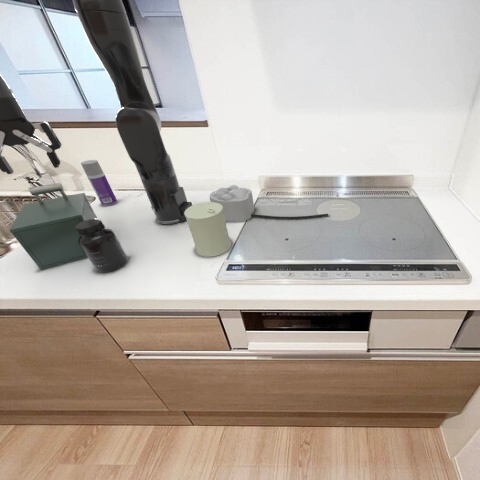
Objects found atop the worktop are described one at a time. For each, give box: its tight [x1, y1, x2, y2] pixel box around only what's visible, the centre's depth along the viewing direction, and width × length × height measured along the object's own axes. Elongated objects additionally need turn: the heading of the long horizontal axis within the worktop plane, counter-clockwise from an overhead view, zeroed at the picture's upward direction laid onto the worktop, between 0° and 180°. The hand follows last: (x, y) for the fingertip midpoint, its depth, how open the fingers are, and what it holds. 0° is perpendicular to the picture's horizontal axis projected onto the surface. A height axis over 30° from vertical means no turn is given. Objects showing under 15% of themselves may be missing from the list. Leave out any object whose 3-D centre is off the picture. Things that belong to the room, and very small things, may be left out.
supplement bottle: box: [75, 218, 128, 273], centre depth 63 cm, size 7×7×12 cm
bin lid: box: [9, 182, 87, 234], centre depth 65 cm, size 16×13×5 cm
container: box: [80, 159, 118, 207], centre depth 90 cm, size 5×5×15 cm
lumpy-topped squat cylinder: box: [208, 184, 256, 223], centre depth 86 cm, size 10×13×9 cm
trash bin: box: [11, 196, 99, 271], centre depth 69 cm, size 15×13×11 cm
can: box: [184, 201, 232, 258], centre depth 69 cm, size 9×9×12 cm
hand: (34, 169), depth 65 cm, fingers open, 8 cm apart
